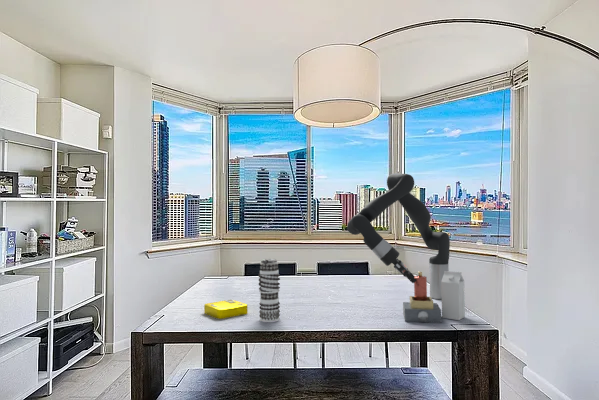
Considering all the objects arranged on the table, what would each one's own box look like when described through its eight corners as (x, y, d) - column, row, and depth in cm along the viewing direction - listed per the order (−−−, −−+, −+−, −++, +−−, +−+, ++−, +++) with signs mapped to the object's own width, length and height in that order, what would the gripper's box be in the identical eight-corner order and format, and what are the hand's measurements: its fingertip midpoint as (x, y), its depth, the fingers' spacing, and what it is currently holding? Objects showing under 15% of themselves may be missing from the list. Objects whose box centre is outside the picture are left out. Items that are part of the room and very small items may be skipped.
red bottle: (414, 304, 172) (413, 271, 173) (426, 304, 171) (425, 271, 172) (415, 307, 167) (414, 272, 168) (427, 307, 166) (427, 273, 167)
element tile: (202, 313, 182) (202, 303, 182) (232, 308, 192) (231, 298, 192) (219, 320, 171) (218, 309, 171) (249, 314, 180) (249, 303, 180)
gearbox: (403, 313, 176) (402, 295, 177) (437, 315, 174) (436, 296, 174) (405, 322, 163) (404, 302, 164) (441, 323, 161) (441, 303, 161)
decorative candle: (260, 323, 164) (260, 261, 165) (256, 317, 173) (256, 258, 174) (283, 321, 167) (282, 260, 167) (277, 315, 176) (277, 257, 176)
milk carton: (447, 314, 175) (447, 269, 175) (465, 317, 170) (464, 271, 171) (441, 317, 169) (440, 271, 170) (459, 320, 165) (458, 273, 165)
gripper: (392, 247, 165) (422, 276, 162) (391, 244, 179) (418, 271, 176) (379, 260, 166) (408, 289, 163) (378, 256, 180) (406, 283, 177)
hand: (413, 279), depth 170 cm, fingers open, 8 cm apart
